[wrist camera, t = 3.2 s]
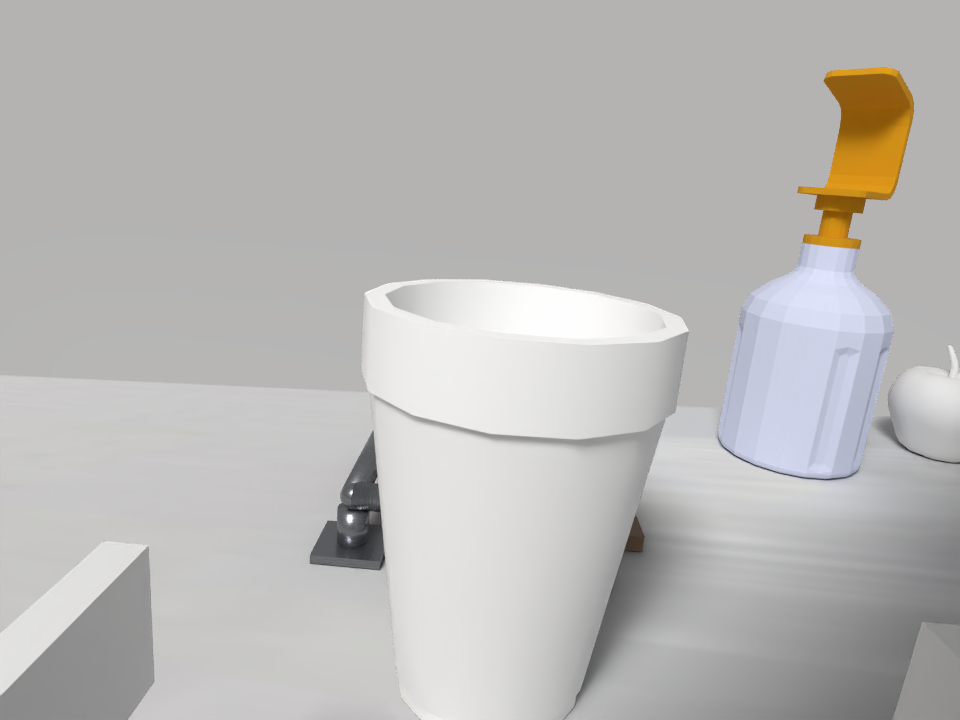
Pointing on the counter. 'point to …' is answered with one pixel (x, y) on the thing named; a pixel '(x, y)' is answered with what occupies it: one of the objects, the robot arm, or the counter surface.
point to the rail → (354, 520)
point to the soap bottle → (822, 307)
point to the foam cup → (509, 479)
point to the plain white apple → (928, 410)
